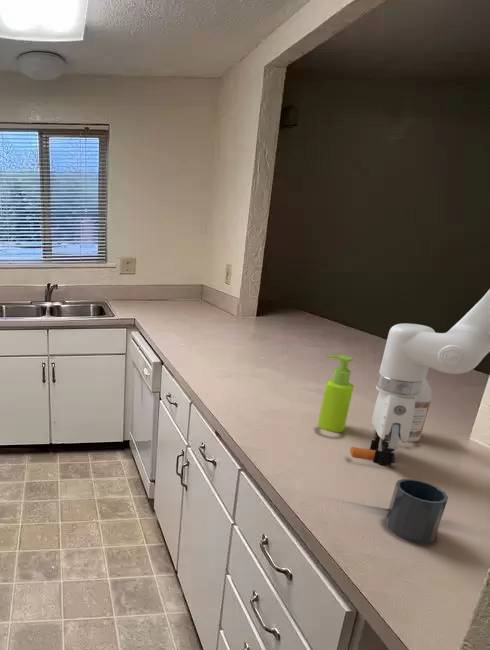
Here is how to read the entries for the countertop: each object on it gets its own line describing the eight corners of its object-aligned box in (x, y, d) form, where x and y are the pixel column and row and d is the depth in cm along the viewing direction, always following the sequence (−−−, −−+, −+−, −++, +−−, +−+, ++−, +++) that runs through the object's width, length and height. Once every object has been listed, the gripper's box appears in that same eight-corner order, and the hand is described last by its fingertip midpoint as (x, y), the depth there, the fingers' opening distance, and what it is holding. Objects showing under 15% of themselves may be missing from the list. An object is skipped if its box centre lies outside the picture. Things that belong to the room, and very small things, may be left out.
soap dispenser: (319, 423, 115) (334, 351, 108) (347, 432, 110) (364, 357, 103) (308, 429, 112) (322, 355, 105) (336, 439, 107) (352, 362, 100)
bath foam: (394, 446, 103) (416, 367, 96) (377, 433, 109) (396, 357, 103) (424, 447, 103) (448, 367, 96) (405, 433, 109) (427, 358, 102)
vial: (350, 461, 96) (353, 449, 96) (348, 457, 99) (350, 444, 98) (393, 469, 93) (396, 456, 93) (389, 463, 96) (392, 451, 95)
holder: (427, 521, 77) (439, 483, 75) (440, 547, 71) (454, 507, 69) (381, 512, 80) (391, 475, 77) (390, 536, 74) (402, 497, 71)
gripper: (433, 401, 81) (409, 485, 87) (409, 374, 95) (389, 447, 101) (386, 396, 83) (366, 477, 90) (369, 370, 98) (352, 442, 104)
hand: (378, 461), depth 95 cm, fingers open, 3 cm apart
